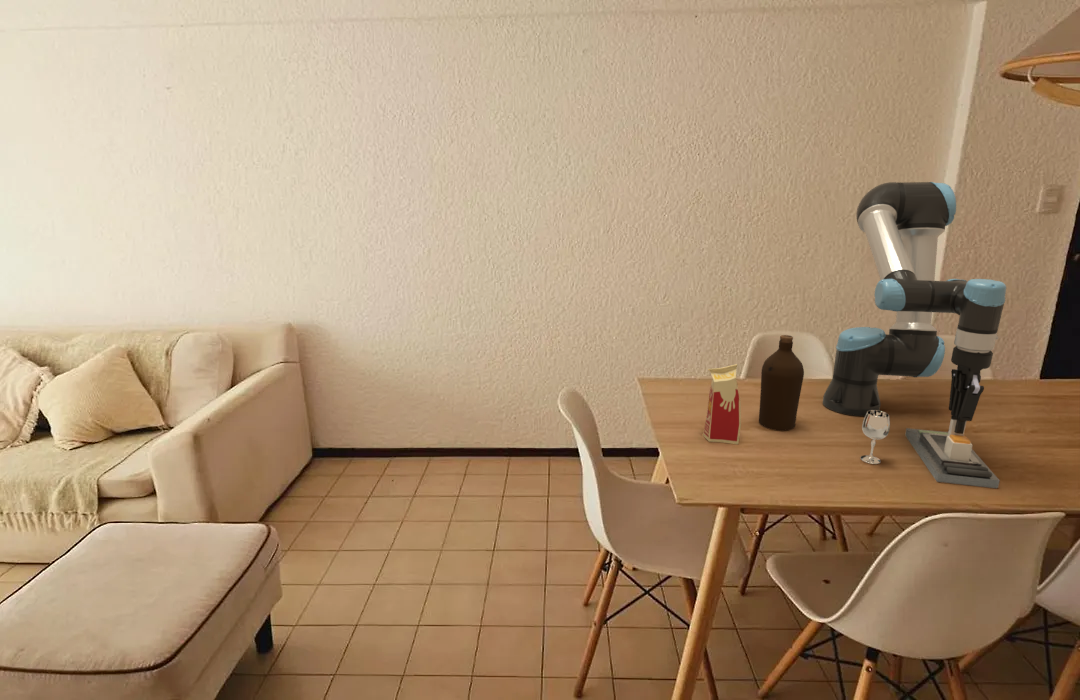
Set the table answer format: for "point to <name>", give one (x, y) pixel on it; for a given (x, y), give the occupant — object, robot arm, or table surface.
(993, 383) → the table surface
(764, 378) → the olive oil
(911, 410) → the table surface
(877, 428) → the wineglass
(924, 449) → the panel
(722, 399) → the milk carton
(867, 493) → the table surface
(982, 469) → the twin grey rollers
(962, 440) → the toggle
